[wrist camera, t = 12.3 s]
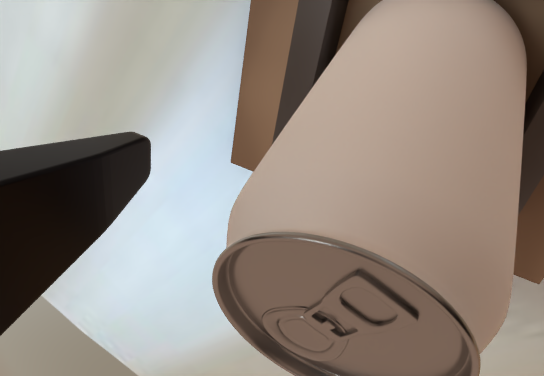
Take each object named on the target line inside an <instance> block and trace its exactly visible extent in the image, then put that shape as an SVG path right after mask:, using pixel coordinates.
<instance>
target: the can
mask: <svg viewBox="0 0 544 376" xmlns="http://www.w3.org/2000/svg"><path fill="white" fill-rule="evenodd" d="M526 76H527V58H526V50H525V45H524V42H523V38H522V36H521V33H520V31H519V29H518V27H517V25H516V24H515V22H514V21H513V19H512V18H511V17H510V15H509V14H508V13H507V12H506V11H505V10H504V9H503V8H502V7H501V6H500V5H499V4H497V3H496V2H495V1H494V0H382V1H381V2H379V3H378V4H377V5H375V6H374V7H373V8H372V9H371V10H370V11H369V12H368V13H367V14H366V15H365V16H364V17H363V18H362V20H361V21H360V22H359V24H358V25H357V26H356V27H355V29H354V30H353V32H352V33H351V34H350V36H349V37H348V38H347V40H346V41H345V43H344V44H343V45H342V47H341V48H340V49H339V51H338V52H337V54H336V55H335V56H334V58H333V59H332V61H331V62H330V63H329V65H328V66H327V68H326V69H325V71H324V72H323V73H322V75H321V76H320V78H319V79H318V80H317V82H316V83H315V85H314V86H313V87H312V89H311V90H310V92H309V93H308V95H307V96H306V97H305V99H304V100H303V102H302V103H301V104H300V106H299V107H298V109H297V110H296V112H295V113H294V114H293V116H292V117H291V119H290V120H289V122H288V123H287V124H286V126H285V127H284V129H283V130H282V132H281V133H280V134H279V136H278V137H277V139H276V140H275V142H274V143H273V144H272V146H271V147H270V149H269V150H268V152H267V153H266V154H265V156H264V157H263V159H262V160H261V162H260V163H259V165H258V166H257V168H256V169H255V170H254V172H253V173H252V175H251V176H250V178H249V179H248V181H247V183H246V184H245V186H244V187H243V189H242V190H241V192H240V194H239V195H238V197H237V199H236V201H235V203H234V205H233V208H232V210H231V214H230V218H229V223H228V231H227V247H226V249H225V250H224V251H223V252H222V253H221V254H220V256H219V257H218V259H217V261H216V263H215V265H214V269H213V274H212V283H213V289H214V293H215V296H216V299H217V302H218V304H219V306H220V308H221V310H222V311H223V313H224V314H225V316H226V317H227V319H228V320H229V322H230V323H231V324H232V325H233V327H234V328H235V329H236V330H237V331H238V332H239V333H240V335H241V336H242V337H243V338H244V339H245V340H246V341H248V342H249V343H250V344H251V345H252V346H253V347H254V348H255V349H257V350H258V351H259V352H260V353H262V354H263V355H264V356H265V357H267V358H268V359H270V360H271V361H272V362H274V363H275V364H277V365H278V366H280V367H281V368H283V369H285V370H286V371H288V372H290V373H291V374H293V375H295V376H479V373H480V353H481V352H482V351H483V350H484V349H485V348H486V346H487V345H488V344H489V343H490V342H491V340H492V339H493V338H494V336H495V335H496V334H497V332H498V331H499V329H500V327H501V326H502V324H503V322H504V320H505V318H506V315H507V312H508V307H509V303H510V298H511V291H512V282H513V273H514V261H515V248H516V235H517V221H518V207H519V192H520V177H521V162H522V147H523V130H524V114H525V97H526Z"/></svg>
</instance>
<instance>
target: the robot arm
mask: <svg viewBox="0 0 544 376" xmlns="http://www.w3.org/2000/svg"><path fill="white" fill-rule="evenodd" d="M150 170H151V143H150V140H149V139H148V138H147V137H145V136H143V135H140V134H138V133H135V132H124V133H118V134H111V135H104V136H97V137H91V138H84V139H77V140H70V141H64V142H57V143H50V144H43V145H37V146H30V147H23V148H16V149H10V150H3V151H0V336H1V335H2V334H3V333H4V332H5V331H6V330H7V329H8V328H9V327H10V326H11V324H13V323H14V322H15V321H16V320H17V318H19V317H20V316H21V314H22V313H24V312H25V311H26V310H27V309H28V308H29V307H30V306H31V305H32V304H33V303H34V302H35V301H36V300H37V299H38V298H39V297H40V296H41V295H42V294H43V293H44V292H45V291H46V290H47V289H48V288H49V287H50V286H51V285H52V284H53V283H54V282H55V281H56V280H57V279H58V278H59V277H60V276H61V275H62V274H63V273H64V272H65V271H66V270H67V269H68V268H69V267H70V266H71V265H72V264H73V263H74V262H75V261H76V260H77V259H78V258H79V257H80V256H81V255H82V254H83V253H84V252H85V251H86V250H87V249H88V248H89V247H90V246H91V245H92V244H93V243H94V242H95V241H96V240H97V239H98V238H99V237H100V236H101V235H102V234H103V233H104V232H105V231H106V230H107V228H108V227H109V226H110V225H111V224H112V223H113V221H114V220H115V219H116V218H117V217H118V215H119V214H120V213H121V212H122V210H123V209H124V208H125V207H126V205H127V204H128V203H129V202H130V200H131V199H132V198H133V197H134V195H135V194H136V193H137V192H138V190H139V189H140V188H141V187H142V186H143V184H144V183H145V182H146V180H147V179H148V177H149V175H150Z"/></svg>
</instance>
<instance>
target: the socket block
mask: <svg viewBox="0 0 544 376" xmlns="http://www.w3.org/2000/svg"><path fill="white" fill-rule="evenodd" d="M381 1H382V0H251V5H250V13H249V21H248V29H247V37H246V45H245V53H244V61H243V69H242V76H241V84H240V92H239V100H238V108H237V116H236V124H235V132H234V140H233V148H232V156H231V163H233V164H236V165H238V166H241V167H243V168H246V169H248V170H251V171H254V170H255V169H256V168H257V166H258V165H259V163H260V162H261V160H262V159H263V157H264V156H265V154H266V153H267V152H268V150H269V149H270V147H271V146H272V144H273V143H274V142H275V140H276V139H277V137H278V136H279V134H280V133H281V132H282V130H283V129H284V127H285V126H286V124H287V123H288V122H289V120H290V119H291V117H292V116H293V114H294V113H295V112H296V110H297V109H298V107H299V106H300V104H301V103H302V102H303V100H304V99H305V97H306V96H307V95H308V93H309V92H310V90H311V89H312V87H313V86H314V85H315V83H316V82H317V80H318V79H319V78H320V76H321V75H322V73H323V72H324V71H325V69H326V68H327V66H328V65H329V63H330V62H331V61H332V59H333V58H334V56H335V55H336V54H337V52H338V51H339V49H340V48H341V47H342V45H343V44H344V43H345V41H346V40H347V38H348V37H349V36H350V34H351V33H352V32H353V30H354V29H355V27H356V26H357V25H358V24H359V22H360V21H361V20H362V18H363V17H364V16H365V15H366V14H367V13H368V12H369V11H370V10H371V9H372V8H373V7H374V6H375V5H377V4H378V3H379V2H381ZM494 1H495V2H496V3H497V4H499V5H500V6H501V7H502V8H503V9H504V10H505V11H506V12H507V13H508V14H509V15H510V17H511V18H512V19H513V21H514V22H515V24H516V25H517V27H518V29H519V31H520V33H521V36H522V38H523V42H524V45H525V50H526V58H527V76H526V97H525V114H524V130H523V147H522V162H521V177H520V192H519V207H518V221H517V235H516V248H515V261H514V273H513V274H514V275H516V276H519V277H522V278H524V279H527V280H529V281H532V282H534V283H537V284H540V282H541V281H542V280H543V278H544V0H494Z"/></svg>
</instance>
